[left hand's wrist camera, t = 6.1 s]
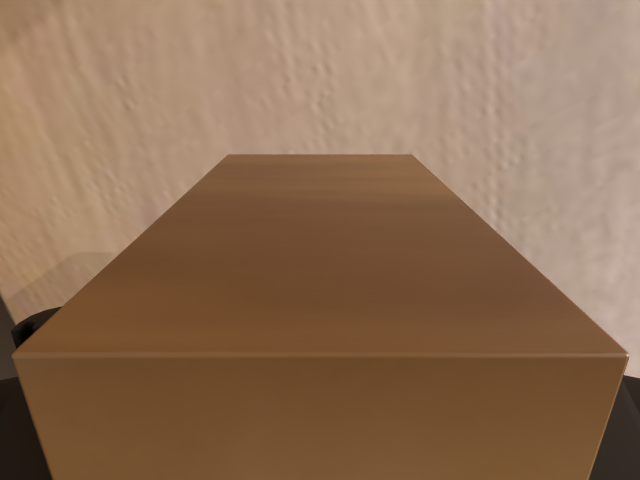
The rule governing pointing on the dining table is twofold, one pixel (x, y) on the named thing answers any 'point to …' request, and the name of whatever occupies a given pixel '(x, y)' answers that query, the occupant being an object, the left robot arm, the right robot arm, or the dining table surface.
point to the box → (320, 340)
